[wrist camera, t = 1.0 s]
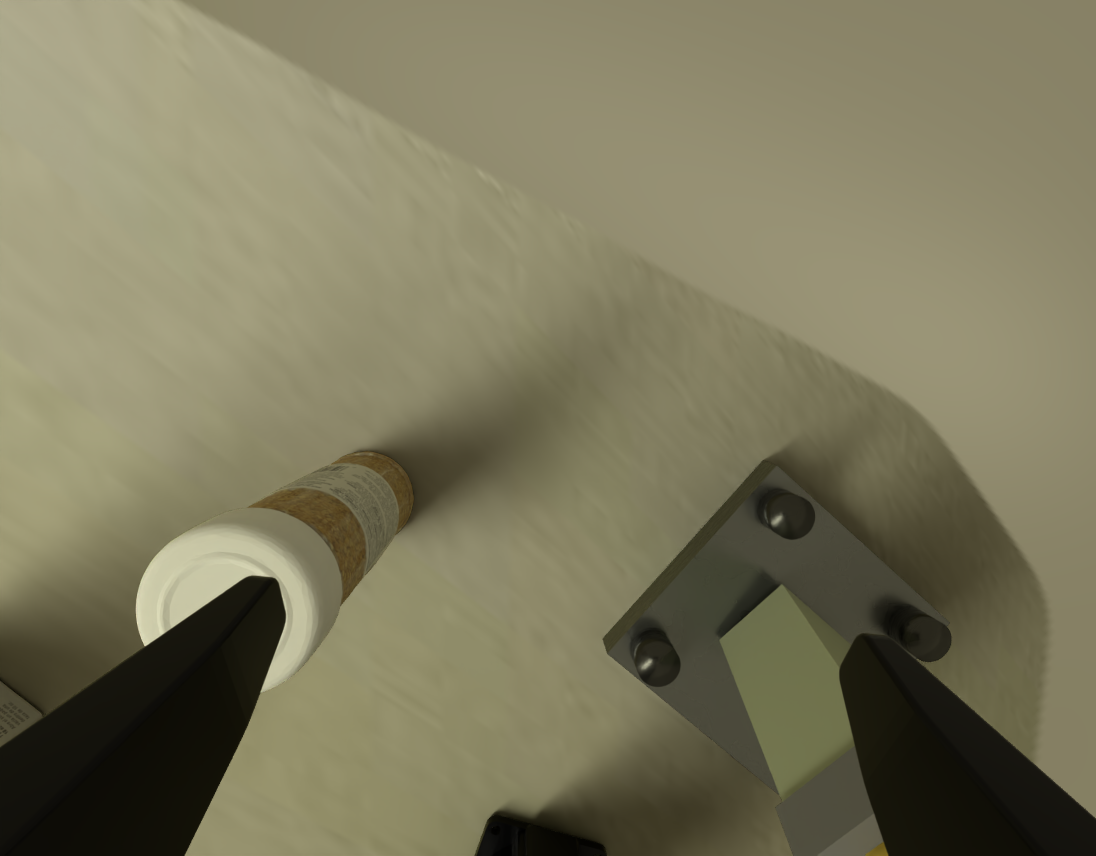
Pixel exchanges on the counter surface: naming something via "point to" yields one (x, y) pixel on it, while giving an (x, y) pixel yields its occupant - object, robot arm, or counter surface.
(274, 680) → the sprinkles bottle
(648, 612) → the plate
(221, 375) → the counter surface
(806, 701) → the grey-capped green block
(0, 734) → the coffee box
